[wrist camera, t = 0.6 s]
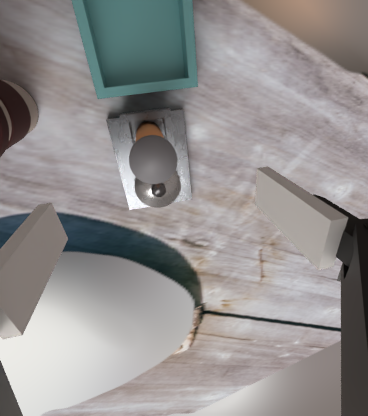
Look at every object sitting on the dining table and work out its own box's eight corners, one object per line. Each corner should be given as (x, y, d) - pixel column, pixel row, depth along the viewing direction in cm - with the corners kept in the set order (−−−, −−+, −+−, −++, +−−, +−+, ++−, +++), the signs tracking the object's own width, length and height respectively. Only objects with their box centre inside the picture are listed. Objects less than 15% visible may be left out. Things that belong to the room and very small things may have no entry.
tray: (102, 97, 34) (97, 98, 30) (69, -31, 27) (58, -48, 23) (192, 86, 35) (197, 86, 32) (182, -39, 28) (188, -56, 25)
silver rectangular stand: (129, 206, 43) (128, 219, 39) (106, 114, 35) (101, 118, 31) (190, 195, 44) (195, 208, 40) (181, 104, 36) (187, 107, 32)
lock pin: (136, 152, 37) (134, 187, 24) (129, 120, 35) (123, 140, 22) (166, 147, 38) (180, 180, 25) (161, 115, 35) (174, 133, 22)
